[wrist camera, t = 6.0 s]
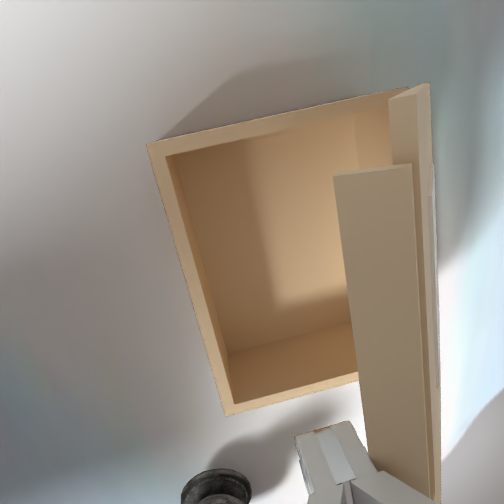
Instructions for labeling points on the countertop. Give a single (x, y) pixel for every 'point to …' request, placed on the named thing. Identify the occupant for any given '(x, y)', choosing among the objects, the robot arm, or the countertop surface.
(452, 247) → the countertop surface
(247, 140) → the mailer box
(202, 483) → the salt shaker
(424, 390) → the lid
